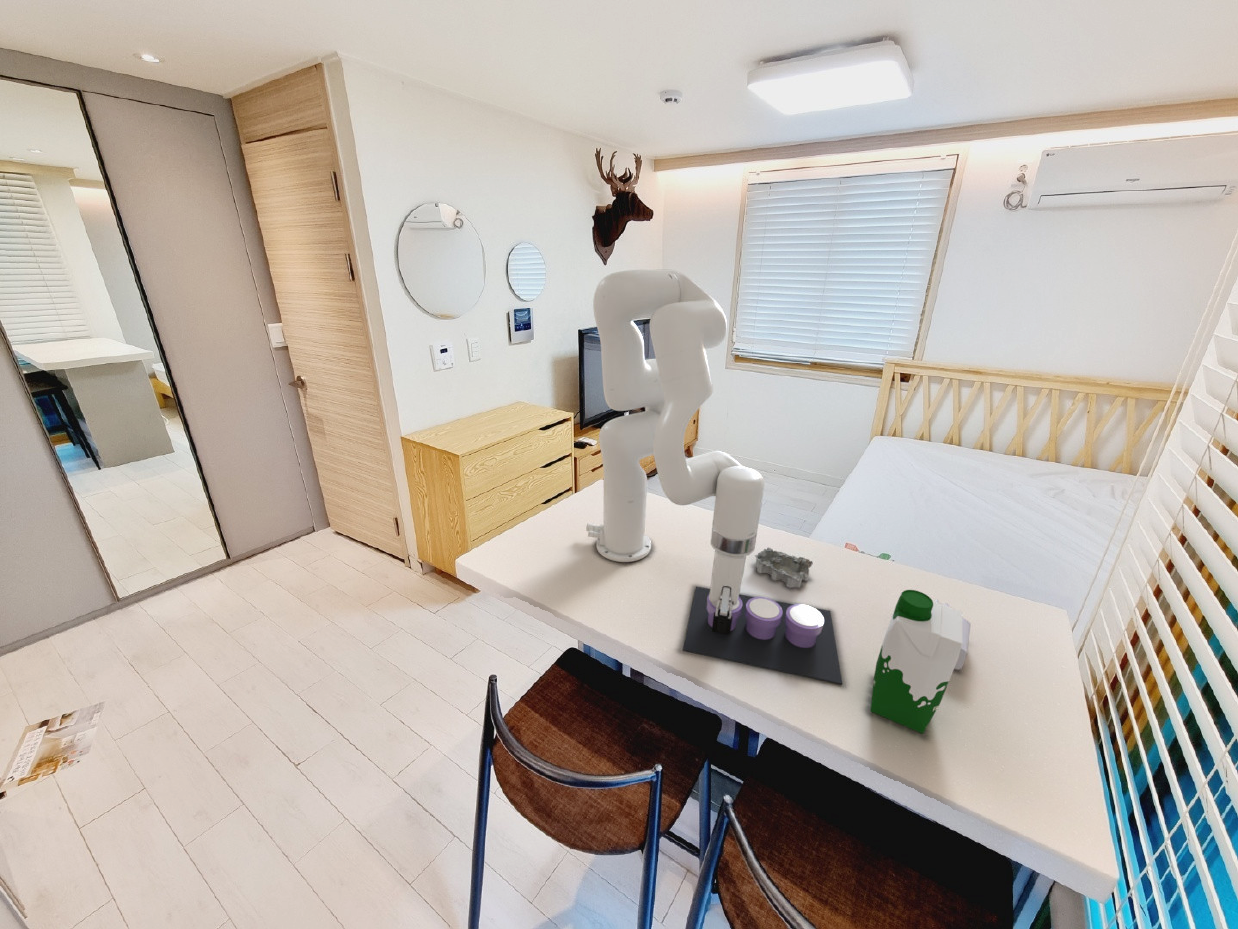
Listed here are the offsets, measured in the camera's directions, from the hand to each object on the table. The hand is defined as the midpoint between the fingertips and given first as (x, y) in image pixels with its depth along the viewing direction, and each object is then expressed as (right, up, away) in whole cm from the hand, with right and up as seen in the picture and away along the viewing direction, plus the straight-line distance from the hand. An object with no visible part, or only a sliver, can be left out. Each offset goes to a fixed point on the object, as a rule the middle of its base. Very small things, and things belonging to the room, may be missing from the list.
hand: (722, 618), depth 93 cm
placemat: (+7, -2, -1) cm, 7 cm away
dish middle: (+7, -2, -1) cm, 7 cm away
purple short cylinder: (0, -1, 0) cm, 1 cm away
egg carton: (+16, +5, +15) cm, 22 cm away
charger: (+39, -3, -1) cm, 39 cm away
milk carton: (+24, -9, -16) cm, 30 cm away
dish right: (+13, -2, -3) cm, 14 cm away
